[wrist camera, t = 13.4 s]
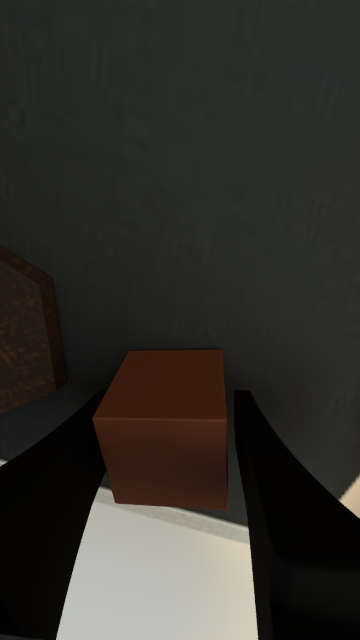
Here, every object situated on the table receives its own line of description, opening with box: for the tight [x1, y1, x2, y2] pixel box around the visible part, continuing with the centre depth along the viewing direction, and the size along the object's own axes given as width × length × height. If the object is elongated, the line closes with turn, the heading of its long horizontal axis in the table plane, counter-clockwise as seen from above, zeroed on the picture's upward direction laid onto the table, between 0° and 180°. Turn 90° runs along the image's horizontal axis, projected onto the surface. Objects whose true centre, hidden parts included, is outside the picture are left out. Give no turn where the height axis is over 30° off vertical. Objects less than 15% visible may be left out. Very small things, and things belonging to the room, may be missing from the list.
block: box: [92, 349, 228, 510], centre depth 11 cm, size 4×4×4 cm
